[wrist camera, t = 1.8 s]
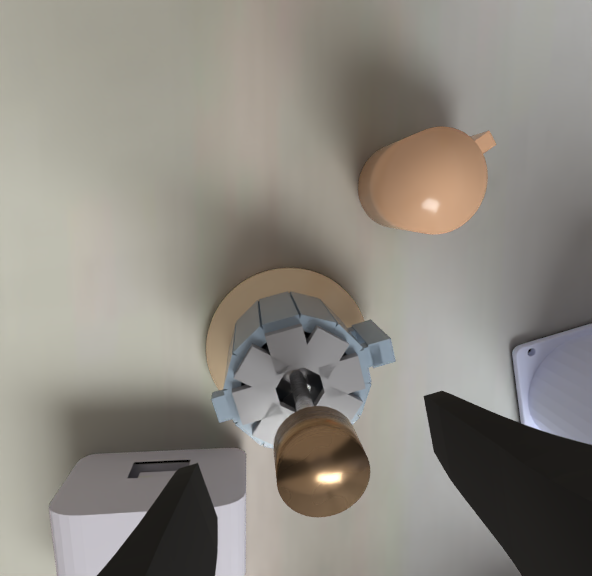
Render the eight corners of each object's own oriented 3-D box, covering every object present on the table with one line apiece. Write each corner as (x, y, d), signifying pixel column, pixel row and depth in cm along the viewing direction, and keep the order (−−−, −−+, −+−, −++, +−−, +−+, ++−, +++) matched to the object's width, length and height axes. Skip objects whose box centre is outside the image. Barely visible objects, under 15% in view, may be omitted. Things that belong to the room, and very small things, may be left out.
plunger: (327, 320, 18) (377, 394, 11) (347, 398, 19) (404, 512, 12) (240, 345, 18) (235, 437, 11) (264, 423, 19) (274, 553, 12)
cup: (384, 243, 21) (420, 254, 17) (342, 175, 20) (369, 167, 16) (470, 183, 21) (529, 178, 17) (432, 111, 20) (484, 85, 16)
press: (349, 247, 21) (383, 261, 16) (381, 391, 23) (420, 446, 18) (185, 292, 21) (163, 323, 15) (233, 436, 23) (229, 506, 17)
